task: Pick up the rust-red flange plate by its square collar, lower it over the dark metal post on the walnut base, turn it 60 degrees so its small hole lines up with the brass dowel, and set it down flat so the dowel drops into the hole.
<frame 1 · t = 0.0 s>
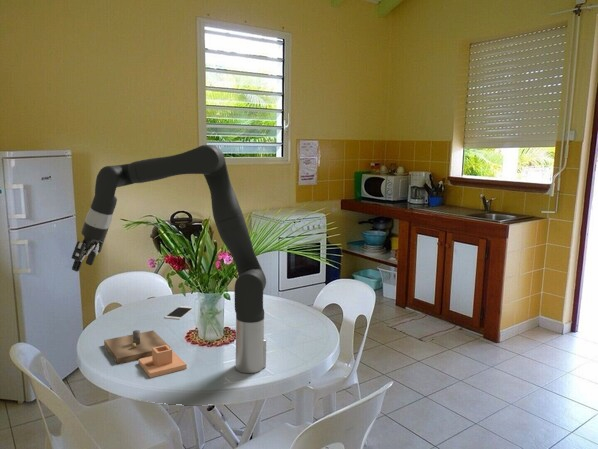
hand: (82, 267, 157), 31 cm above the table, tool tilted 20°, fingers open, 8 cm apart
post base: (136, 348, 170), on the table
flange plate: (162, 365, 157), on the table
smartphone: (179, 314, 208), on the table
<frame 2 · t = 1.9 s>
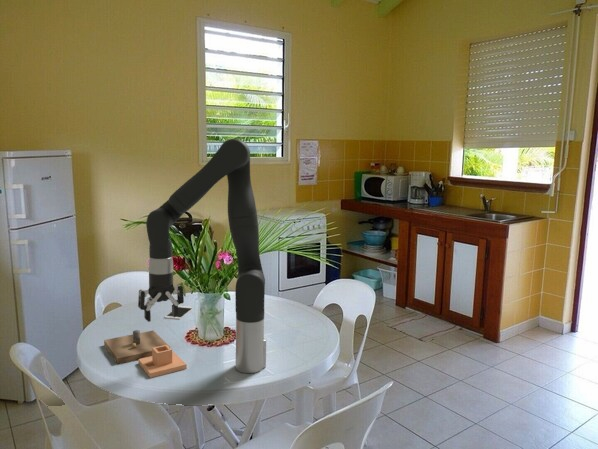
hand: (161, 318, 154), 16 cm above the table, tool pointing down, fingers open, 8 cm apart
nothing on the table moved.
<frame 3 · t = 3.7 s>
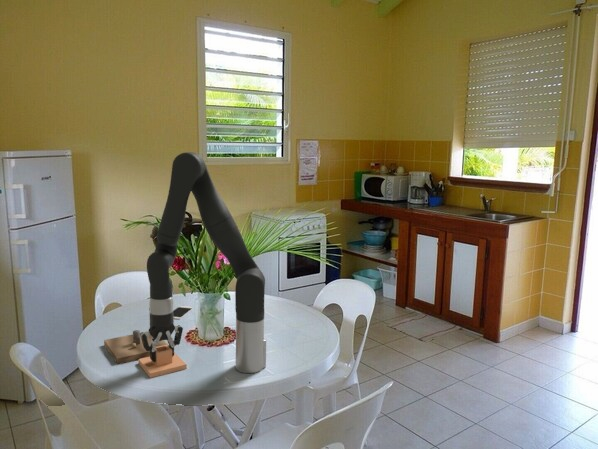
hand: (162, 359, 157), 2 cm above the table, tool pointing down, fingers closed on flange plate, 5 cm apart
flange plate: (162, 365, 157), on the table, touching gripper
everything else where it was.
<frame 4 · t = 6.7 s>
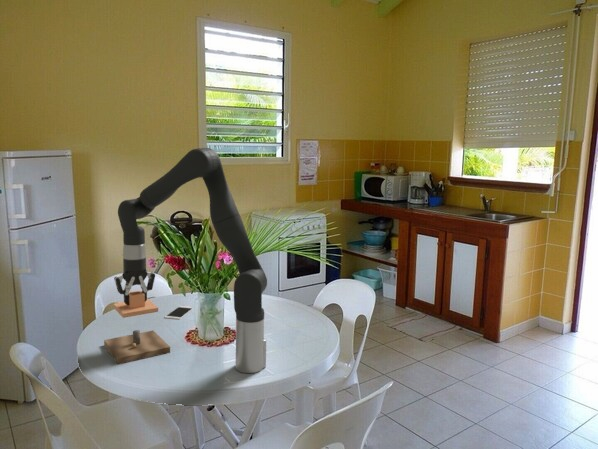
hand: (135, 303, 167), 17 cm above the table, tool pointing down, fingers closed on flange plate, 5 cm apart
flange plate: (135, 309, 167), point 15 cm above the table, touching gripper
everything else where it was.
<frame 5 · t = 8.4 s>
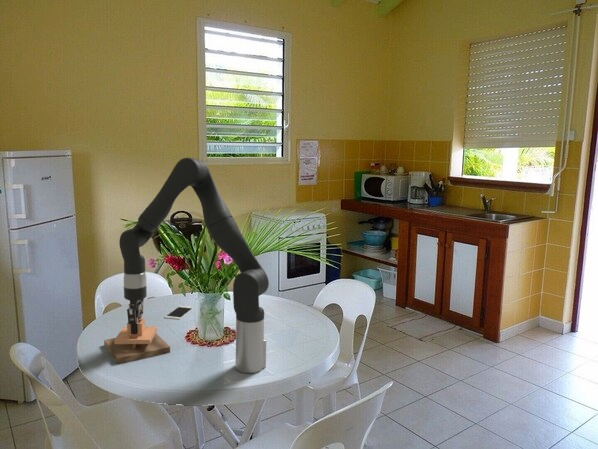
hand: (136, 330, 169), 7 cm above the table, tool pointing down, fingers closed on flange plate, 5 cm apart
flange plate: (136, 337, 169), point 4 cm above the table, touching gripper
everything else where it was.
when the fingers open (5 cm above the table, at t = 9.9 s): flange plate stays where it is, resting on post base.
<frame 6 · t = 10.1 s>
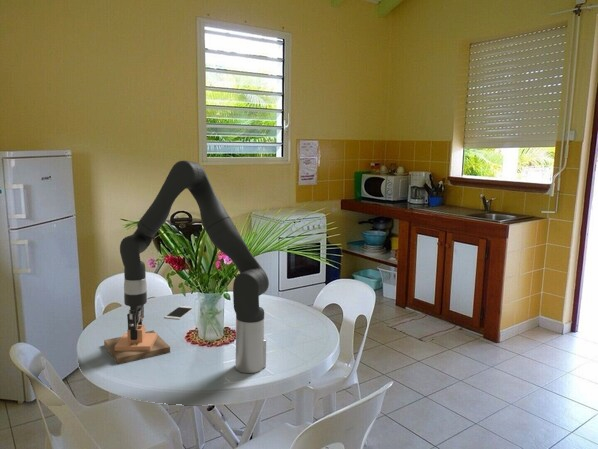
hand: (136, 335, 169), 5 cm above the table, tool pointing down, fingers open, 6 cm apart
flange plate: (136, 343, 169), point 2 cm above the table, touching post base
everything else where it was.
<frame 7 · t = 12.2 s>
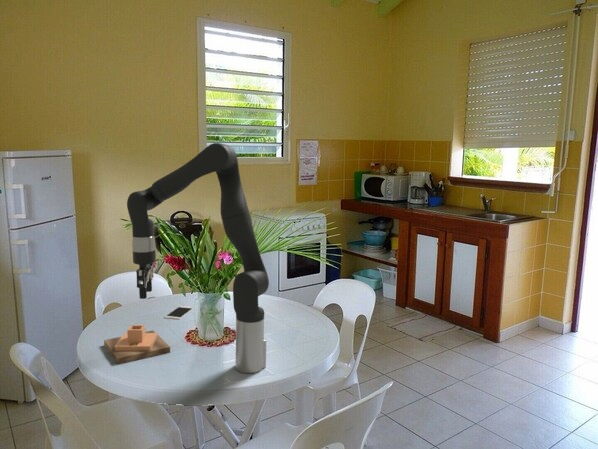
hand: (146, 294, 164), 21 cm above the table, tool pointing down, fingers open, 8 cm apart
nothing on the table moved.
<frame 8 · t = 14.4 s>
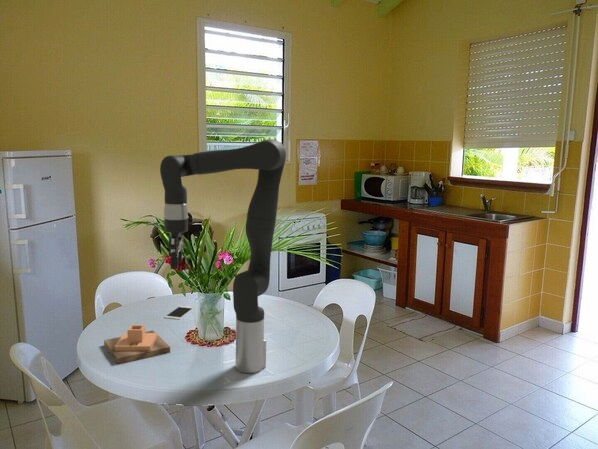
hand: (176, 265, 157), 33 cm above the table, tool pointing down, fingers open, 8 cm apart
nothing on the table moved.
at the end: flange plate 0.1 cm off-centre on the post base, point 2.0 cm above the post base's base; flange plate tilted 0°; the gripper is holding nothing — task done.
